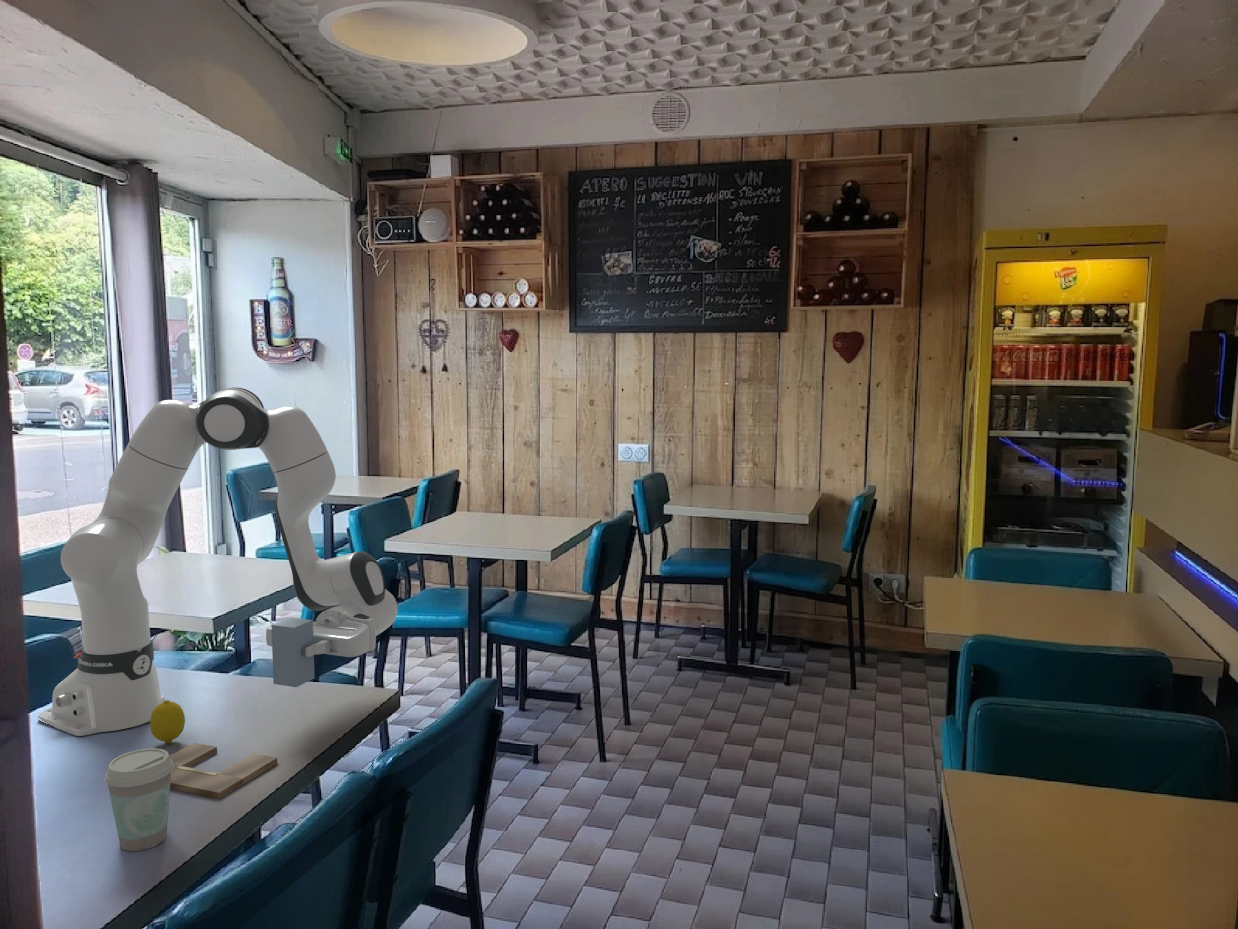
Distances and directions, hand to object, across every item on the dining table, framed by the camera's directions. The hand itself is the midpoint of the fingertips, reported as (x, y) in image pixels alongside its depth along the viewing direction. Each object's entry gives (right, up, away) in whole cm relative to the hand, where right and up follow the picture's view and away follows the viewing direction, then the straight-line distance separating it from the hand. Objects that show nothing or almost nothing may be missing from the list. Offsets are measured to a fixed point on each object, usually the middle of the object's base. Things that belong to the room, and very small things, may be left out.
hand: (289, 650), depth 156 cm
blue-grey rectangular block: (0, -6, +1) cm, 6 cm away
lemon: (-21, -17, -2) cm, 27 cm away
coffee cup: (-8, -20, -33) cm, 40 cm away
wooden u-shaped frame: (-9, -18, -13) cm, 23 cm away
